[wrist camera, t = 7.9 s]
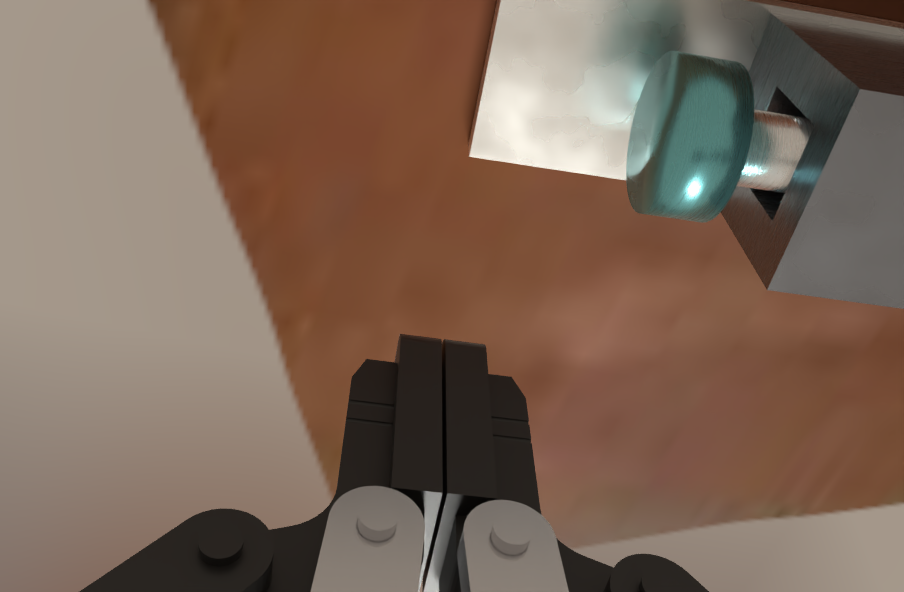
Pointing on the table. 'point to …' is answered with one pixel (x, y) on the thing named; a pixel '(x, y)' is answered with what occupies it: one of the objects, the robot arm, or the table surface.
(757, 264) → the shaft housing
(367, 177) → the table surface
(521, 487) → the robot arm
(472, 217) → the table surface
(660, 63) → the shaft
